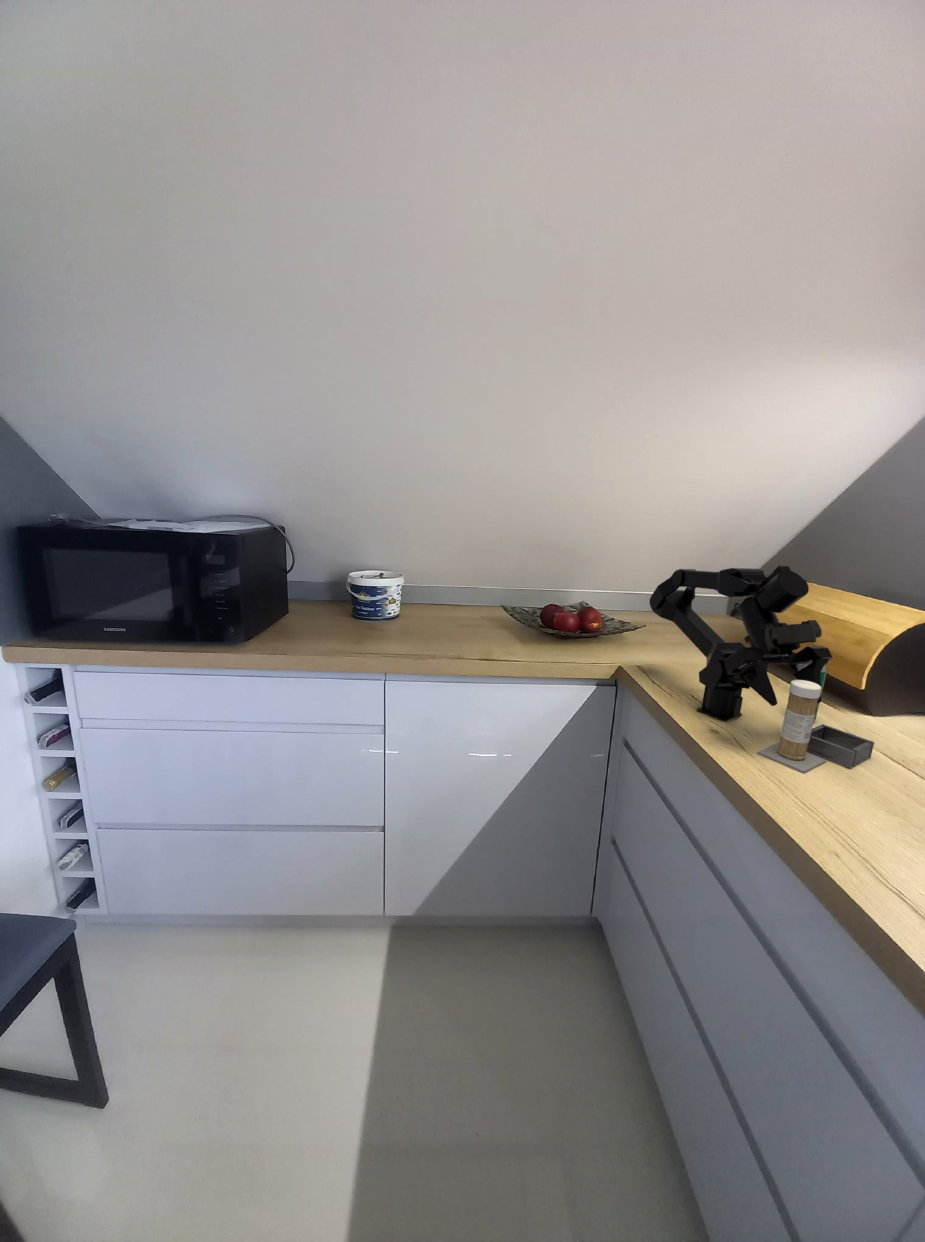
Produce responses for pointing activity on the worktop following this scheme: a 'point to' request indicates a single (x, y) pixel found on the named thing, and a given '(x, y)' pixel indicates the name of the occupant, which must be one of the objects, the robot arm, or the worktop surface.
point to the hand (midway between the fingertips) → (797, 704)
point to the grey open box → (839, 746)
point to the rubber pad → (798, 765)
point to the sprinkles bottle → (798, 719)
